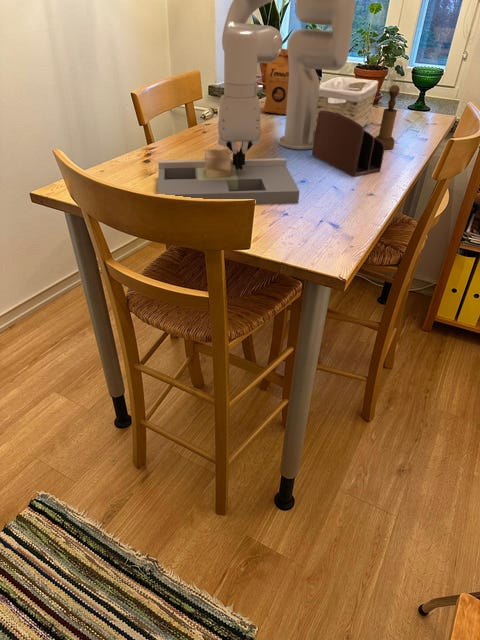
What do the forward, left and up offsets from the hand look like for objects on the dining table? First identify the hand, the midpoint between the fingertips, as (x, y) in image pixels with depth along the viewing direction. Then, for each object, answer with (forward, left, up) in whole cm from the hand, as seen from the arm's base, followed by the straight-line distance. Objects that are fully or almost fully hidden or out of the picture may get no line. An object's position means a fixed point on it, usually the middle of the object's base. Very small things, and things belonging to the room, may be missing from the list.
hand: (238, 167), depth 120 cm
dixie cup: (-50, -68, -4) cm, 85 cm away
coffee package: (-24, -71, -4) cm, 75 cm away
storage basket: (-43, -49, -5) cm, 65 cm away
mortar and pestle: (-50, -28, -4) cm, 58 cm away
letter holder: (-33, -14, -5) cm, 36 cm away
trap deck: (+4, +4, -4) cm, 7 cm away
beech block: (+5, 0, -1) cm, 6 cm away
